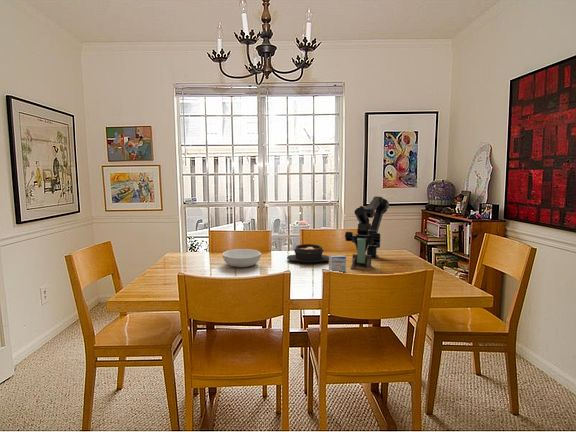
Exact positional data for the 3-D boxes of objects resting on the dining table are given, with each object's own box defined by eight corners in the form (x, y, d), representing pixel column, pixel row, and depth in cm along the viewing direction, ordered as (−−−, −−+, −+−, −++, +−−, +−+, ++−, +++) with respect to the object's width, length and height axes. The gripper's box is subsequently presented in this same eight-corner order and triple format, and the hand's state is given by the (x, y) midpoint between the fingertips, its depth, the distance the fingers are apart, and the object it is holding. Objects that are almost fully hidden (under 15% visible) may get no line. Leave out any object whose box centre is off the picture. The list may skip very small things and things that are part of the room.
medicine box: (331, 273, 180) (331, 257, 179) (328, 271, 184) (328, 255, 183) (346, 273, 182) (346, 256, 180) (342, 270, 186) (343, 254, 185)
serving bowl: (224, 272, 183) (224, 259, 182) (221, 261, 203) (220, 249, 202) (264, 269, 189) (264, 256, 188) (257, 259, 209) (257, 247, 208)
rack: (352, 264, 198) (352, 253, 197) (371, 265, 195) (371, 254, 195) (350, 269, 189) (350, 257, 188) (369, 270, 186) (370, 259, 185)
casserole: (286, 265, 196) (286, 250, 195) (287, 256, 215) (287, 243, 214) (331, 265, 196) (332, 250, 195) (328, 257, 214) (329, 243, 213)
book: (357, 260, 195) (358, 237, 193) (365, 260, 194) (366, 238, 192) (357, 262, 190) (357, 239, 188) (364, 263, 189) (365, 240, 187)
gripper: (345, 217, 195) (342, 241, 186) (380, 218, 190) (379, 243, 181) (347, 228, 203) (344, 252, 195) (381, 230, 198) (379, 254, 189)
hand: (361, 250), depth 190 cm, fingers closed on book, 4 cm apart
